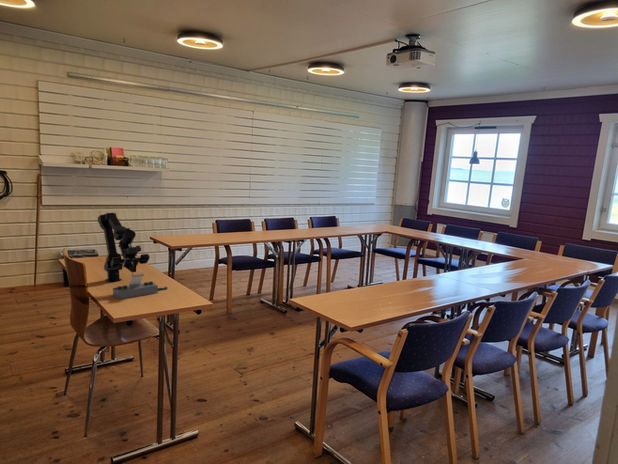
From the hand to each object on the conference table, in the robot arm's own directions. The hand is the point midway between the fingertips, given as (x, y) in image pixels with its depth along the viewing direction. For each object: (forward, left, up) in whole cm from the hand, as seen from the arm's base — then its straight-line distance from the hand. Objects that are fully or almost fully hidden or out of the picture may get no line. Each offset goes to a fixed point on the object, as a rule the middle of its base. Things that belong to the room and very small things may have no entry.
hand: (134, 274), depth 223 cm
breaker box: (+1, +3, -11) cm, 11 cm away
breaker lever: (0, 0, -5) cm, 5 cm away
